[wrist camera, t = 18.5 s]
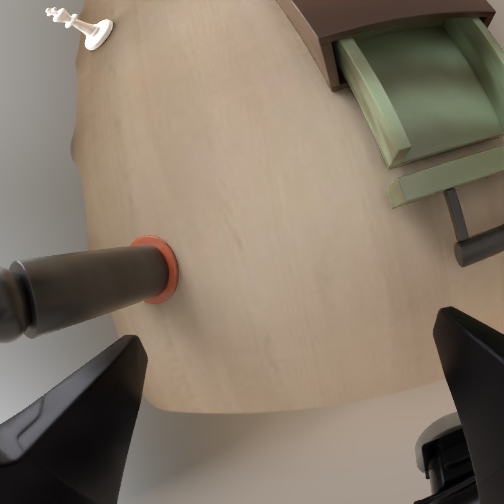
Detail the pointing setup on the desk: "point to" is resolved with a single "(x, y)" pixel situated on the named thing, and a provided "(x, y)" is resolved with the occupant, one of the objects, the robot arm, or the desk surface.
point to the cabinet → (366, 22)
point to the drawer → (432, 109)
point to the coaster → (170, 261)
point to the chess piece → (84, 27)
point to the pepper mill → (76, 288)
